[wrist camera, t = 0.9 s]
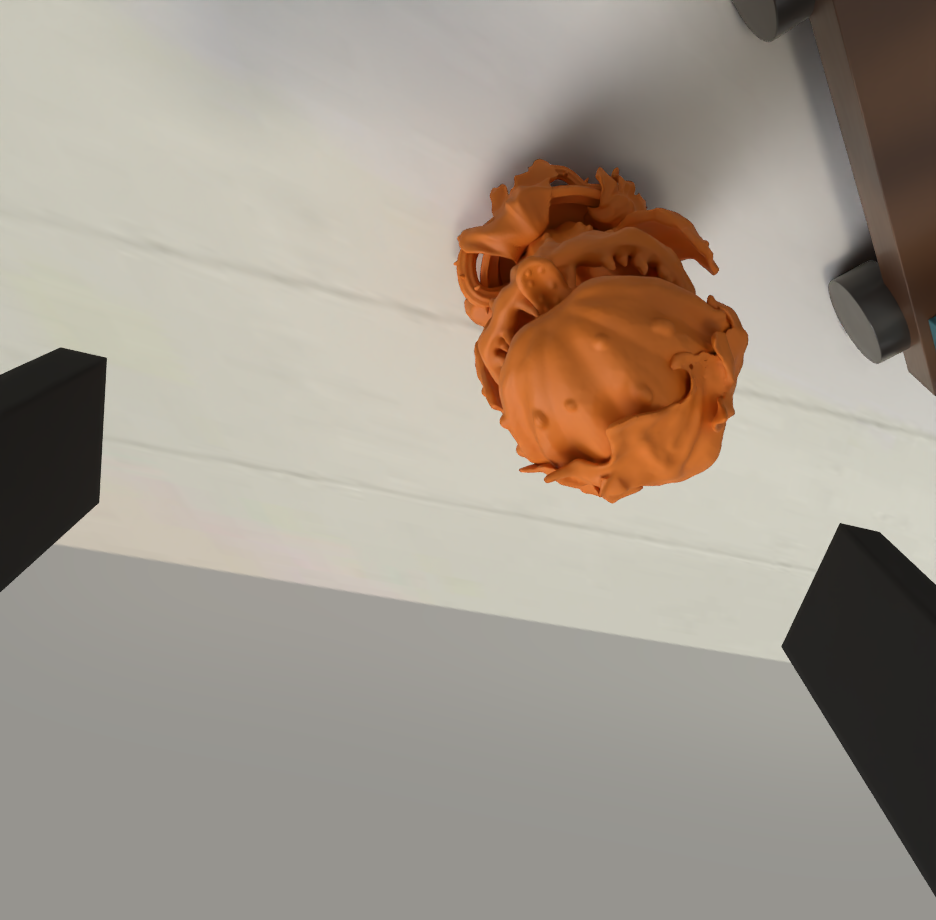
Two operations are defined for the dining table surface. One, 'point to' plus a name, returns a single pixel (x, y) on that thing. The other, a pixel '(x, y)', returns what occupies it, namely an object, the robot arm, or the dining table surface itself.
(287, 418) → the dining table surface
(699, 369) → the orange creature figurine
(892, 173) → the toy car
